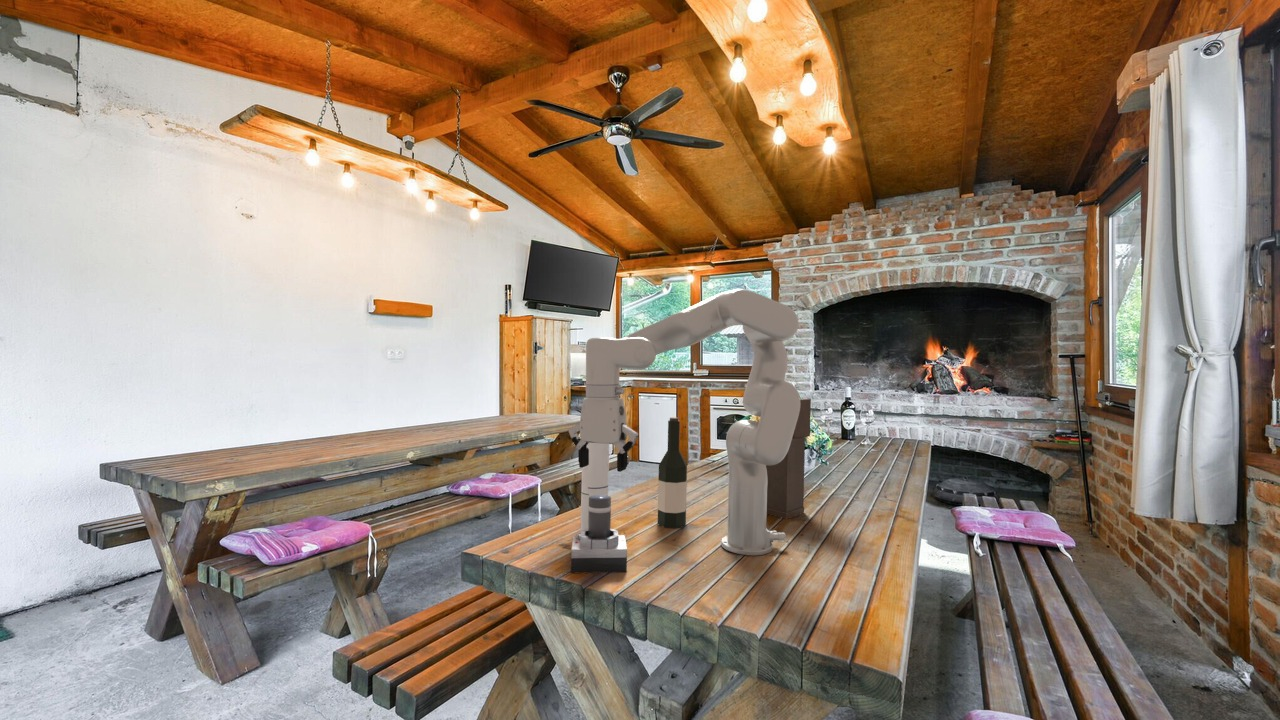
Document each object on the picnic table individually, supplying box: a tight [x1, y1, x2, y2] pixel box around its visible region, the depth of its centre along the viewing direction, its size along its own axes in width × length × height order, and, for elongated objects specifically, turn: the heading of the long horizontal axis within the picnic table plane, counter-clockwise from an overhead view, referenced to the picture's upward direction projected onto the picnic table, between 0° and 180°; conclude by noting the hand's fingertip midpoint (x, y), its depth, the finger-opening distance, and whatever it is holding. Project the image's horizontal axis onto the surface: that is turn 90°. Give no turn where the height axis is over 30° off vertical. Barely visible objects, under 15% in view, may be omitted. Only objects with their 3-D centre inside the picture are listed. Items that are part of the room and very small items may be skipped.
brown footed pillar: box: [766, 397, 812, 520], centre depth 168 cm, size 19×14×35 cm
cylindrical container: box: [580, 443, 610, 532], centre depth 141 cm, size 7×7×25 cm
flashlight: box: [588, 495, 612, 538], centre depth 119 cm, size 5×5×10 cm
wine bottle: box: [657, 416, 688, 529], centre depth 150 cm, size 8×8×30 cm
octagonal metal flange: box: [570, 528, 628, 573], centre depth 119 cm, size 12×9×7 cm
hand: (602, 468), depth 119 cm, fingers open, 9 cm apart
